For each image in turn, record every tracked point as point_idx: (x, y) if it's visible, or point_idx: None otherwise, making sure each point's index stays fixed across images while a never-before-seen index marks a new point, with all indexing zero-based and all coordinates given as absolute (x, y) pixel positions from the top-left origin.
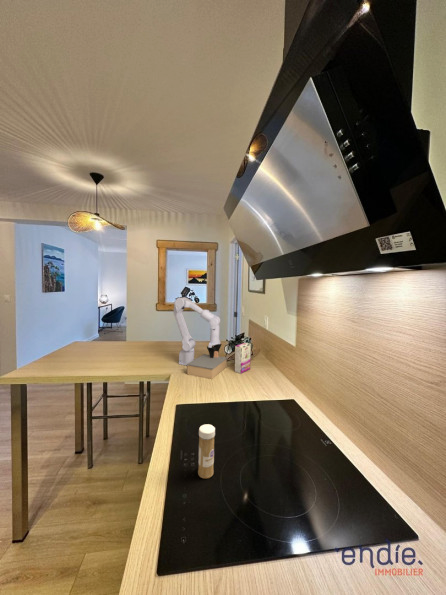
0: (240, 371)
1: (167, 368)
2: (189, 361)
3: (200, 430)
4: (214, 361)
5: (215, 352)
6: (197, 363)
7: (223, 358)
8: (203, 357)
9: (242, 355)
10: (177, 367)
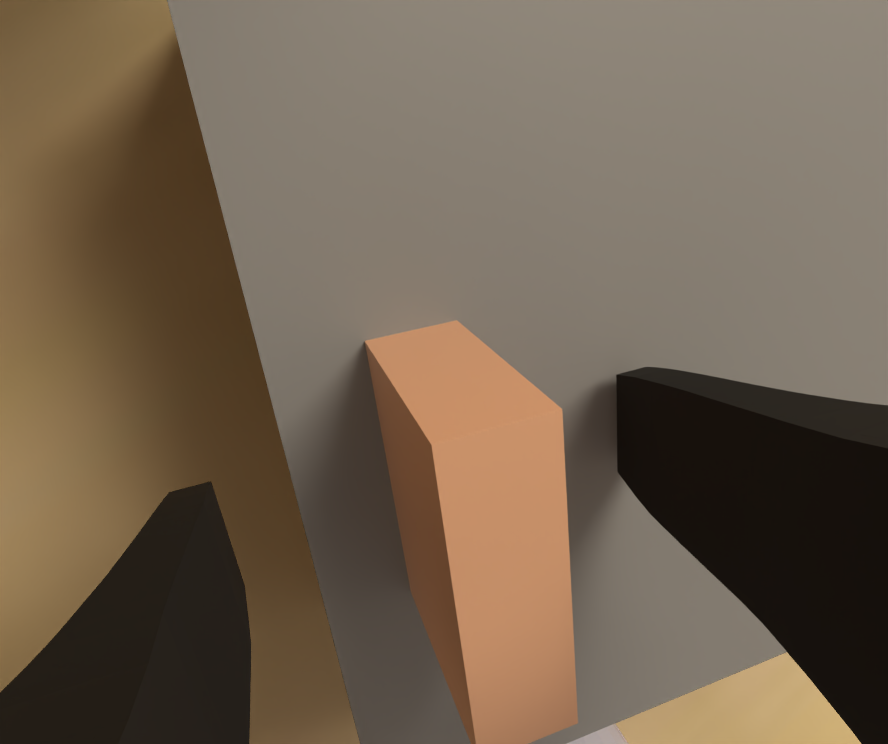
0: None
1: (783, 735)
2: (616, 735)
3: None
4: (872, 135)
5: (551, 489)
6: None
7: (421, 8)
8: (664, 609)
9: None
10: (712, 702)
